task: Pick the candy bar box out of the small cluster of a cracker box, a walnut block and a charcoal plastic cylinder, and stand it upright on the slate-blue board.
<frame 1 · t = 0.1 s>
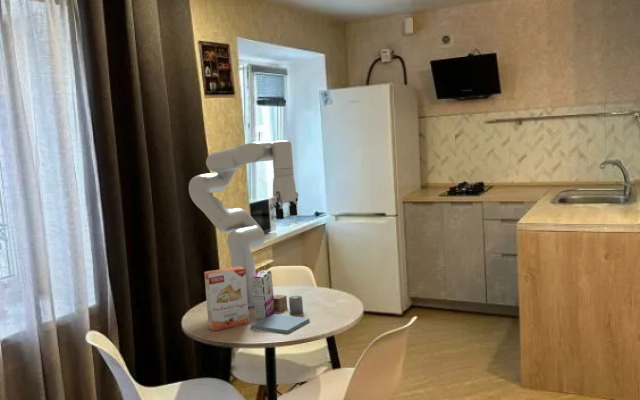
hand: (286, 217, 220), 37 cm above the table, tool pointing down, fingers open, 9 cm apart
cracker box: (229, 326, 208), on the table
slate board: (280, 325, 205), on the table
walnut block: (278, 309, 226), on the table
charcoal cylinder: (296, 312, 219), on the table
candy bar box: (264, 315, 219), on the table
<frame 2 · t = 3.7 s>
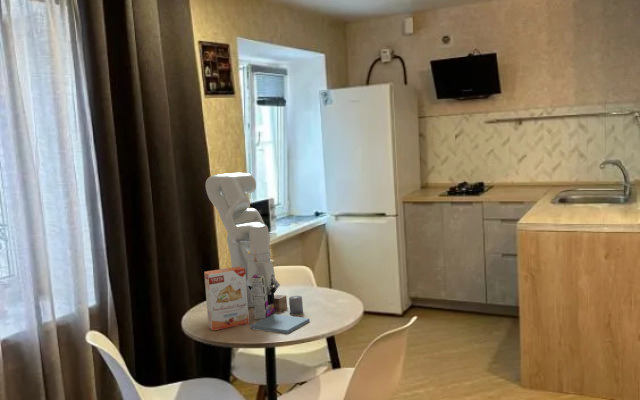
hand: (263, 302, 218), 5 cm above the table, tool pointing down, fingers closed on candy bar box, 6 cm apart
candy bar box: (264, 315, 219), on the table, touching gripper
everything else where it was.
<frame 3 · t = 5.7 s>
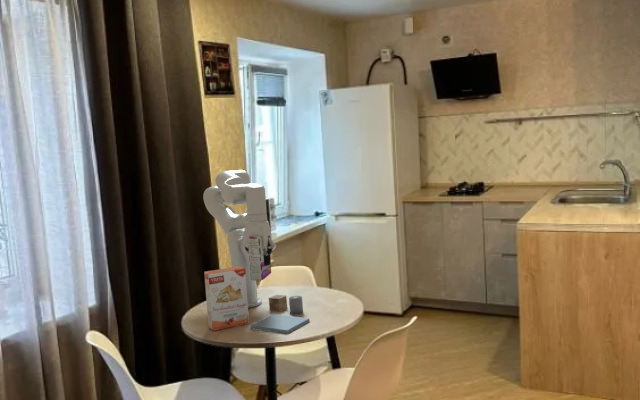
hand: (260, 264, 217), 20 cm above the table, tool pointing down, fingers closed on candy bar box, 6 cm apart
candy bar box: (261, 277, 218), point 15 cm above the table, touching gripper
everything else where it was.
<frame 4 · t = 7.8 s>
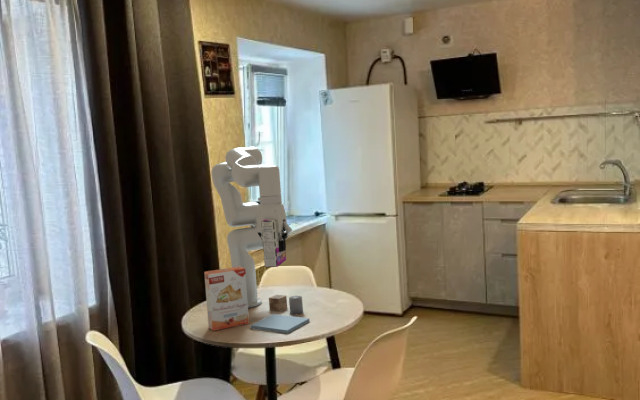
hand: (274, 250, 203), 27 cm above the table, tool pointing down, fingers closed on candy bar box, 6 cm apart
candy bar box: (275, 264, 203), point 22 cm above the table, touching gripper
everything else where it was.
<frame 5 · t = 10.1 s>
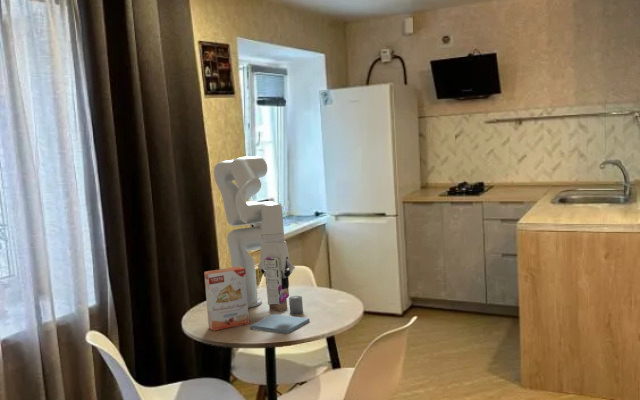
hand: (277, 287, 204), 14 cm above the table, tool pointing down, fingers closed on candy bar box, 6 cm apart
candy bar box: (278, 301, 204), point 9 cm above the table, touching gripper
everything else where it was.
when the fingers open (7 cm above the table, at t = 11.9 s): candy bar box drops 1 cm, resting on slate board.
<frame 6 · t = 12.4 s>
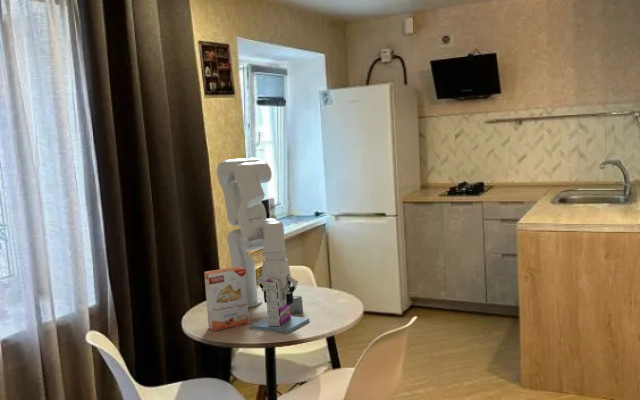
hand: (278, 302, 204), 8 cm above the table, tool pointing down, fingers open, 9 cm apart
candy bar box: (279, 322, 205), point 1 cm above the table, touching slate board
everything else where it was.
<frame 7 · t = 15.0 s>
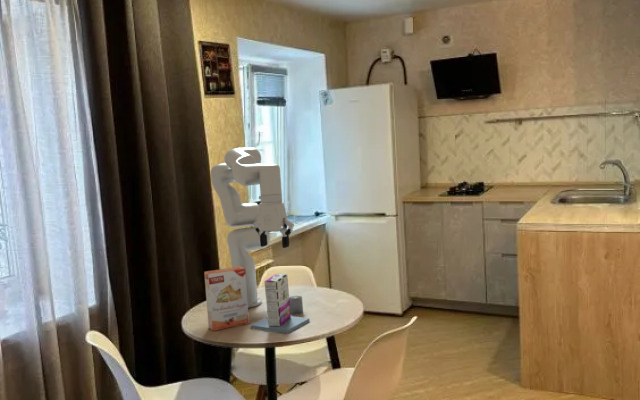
hand: (274, 246, 204), 28 cm above the table, tool pointing down, fingers open, 9 cm apart
nothing on the table moved.
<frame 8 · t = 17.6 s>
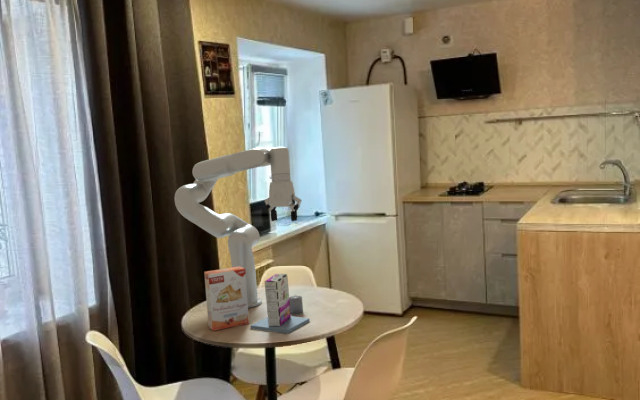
hand: (284, 220, 228), 34 cm above the table, tool pointing down, fingers open, 9 cm apart
nothing on the table moved.
at the end: candy bar box inside the target area on the slate board (0.3 cm from its centre), point 1.0 cm above the slate board's base; candy bar box tilted 0°; the gripper is holding nothing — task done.
